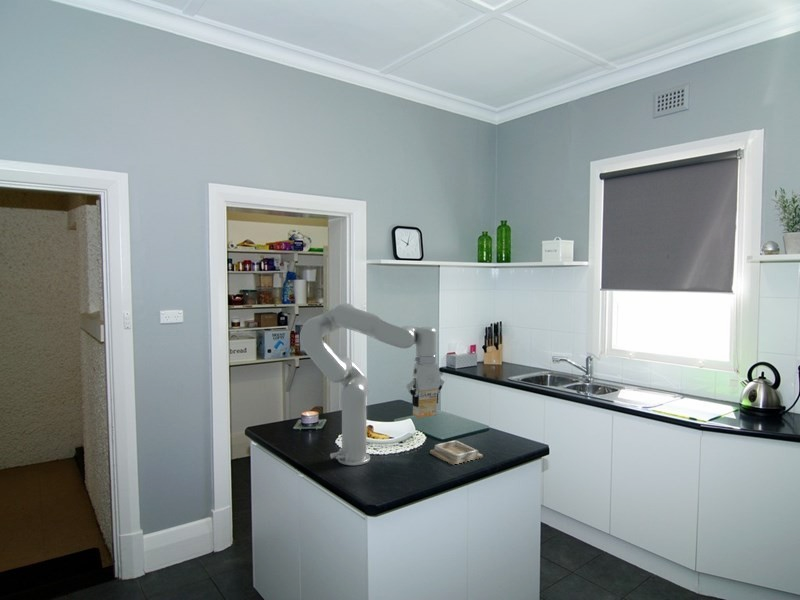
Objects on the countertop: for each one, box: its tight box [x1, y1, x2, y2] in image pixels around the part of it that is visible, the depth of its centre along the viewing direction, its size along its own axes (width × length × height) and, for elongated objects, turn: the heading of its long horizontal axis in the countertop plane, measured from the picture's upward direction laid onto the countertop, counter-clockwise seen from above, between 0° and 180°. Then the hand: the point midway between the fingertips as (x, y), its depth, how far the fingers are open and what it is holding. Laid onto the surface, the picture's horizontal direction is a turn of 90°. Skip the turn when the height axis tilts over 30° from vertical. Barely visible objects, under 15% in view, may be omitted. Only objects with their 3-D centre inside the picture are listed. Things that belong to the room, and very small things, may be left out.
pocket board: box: [429, 440, 484, 466], centre depth 201 cm, size 15×15×3 cm
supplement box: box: [412, 384, 438, 419], centre depth 192 cm, size 8×5×13 cm, turn 118°
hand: (425, 404), depth 192 cm, fingers closed on supplement box, 8 cm apart
